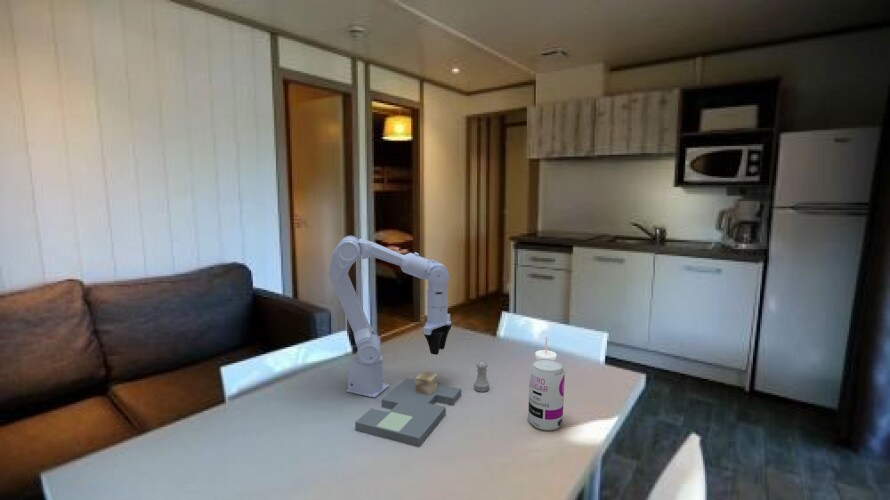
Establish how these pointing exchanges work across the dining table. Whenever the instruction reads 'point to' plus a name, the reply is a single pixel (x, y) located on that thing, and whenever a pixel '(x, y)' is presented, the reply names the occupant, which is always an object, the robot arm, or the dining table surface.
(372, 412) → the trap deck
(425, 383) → the oak block
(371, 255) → the robot arm
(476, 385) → the rook chess piece
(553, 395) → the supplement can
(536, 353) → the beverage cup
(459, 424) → the dining table surface
